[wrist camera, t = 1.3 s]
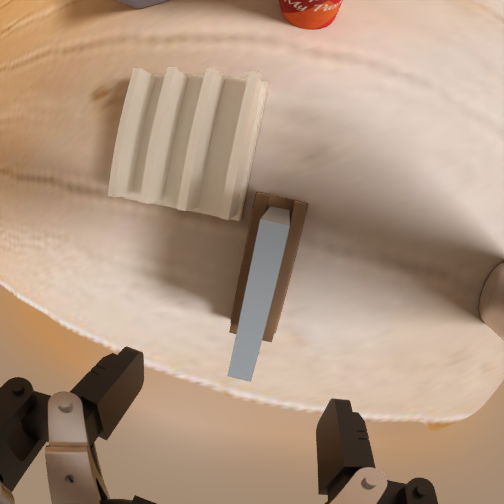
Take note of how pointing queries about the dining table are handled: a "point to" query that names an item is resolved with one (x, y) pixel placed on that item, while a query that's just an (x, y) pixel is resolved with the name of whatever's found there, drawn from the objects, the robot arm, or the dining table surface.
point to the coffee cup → (310, 12)
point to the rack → (188, 140)
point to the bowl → (141, 3)
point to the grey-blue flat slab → (259, 291)
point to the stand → (296, 224)
